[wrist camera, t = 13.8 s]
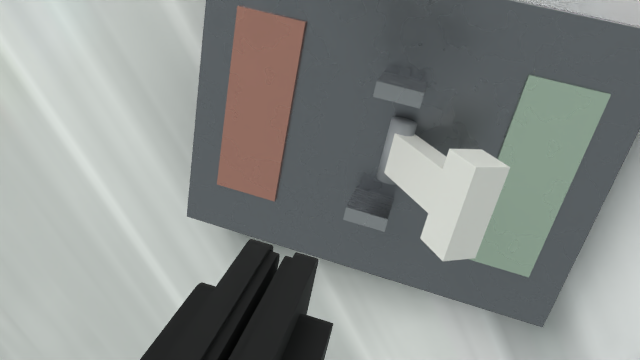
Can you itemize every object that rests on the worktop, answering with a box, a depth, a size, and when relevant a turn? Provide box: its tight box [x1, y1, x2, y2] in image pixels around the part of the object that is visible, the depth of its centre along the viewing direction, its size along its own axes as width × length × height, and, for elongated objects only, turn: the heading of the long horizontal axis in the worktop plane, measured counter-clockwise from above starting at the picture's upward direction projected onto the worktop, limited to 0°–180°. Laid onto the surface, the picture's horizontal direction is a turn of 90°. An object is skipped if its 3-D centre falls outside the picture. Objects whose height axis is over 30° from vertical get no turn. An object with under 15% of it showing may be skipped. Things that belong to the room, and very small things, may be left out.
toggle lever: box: [376, 117, 510, 261], centre depth 32 cm, size 2×6×10 cm
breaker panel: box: [187, 0, 640, 327], centre depth 36 cm, size 30×22×9 cm
